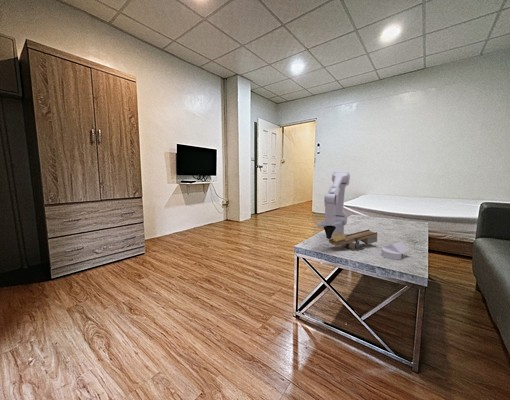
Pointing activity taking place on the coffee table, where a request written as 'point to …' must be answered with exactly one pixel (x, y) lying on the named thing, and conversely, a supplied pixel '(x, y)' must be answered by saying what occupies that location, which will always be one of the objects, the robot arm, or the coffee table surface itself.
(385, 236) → the coffee table surface
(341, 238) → the rider
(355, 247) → the grey metal bracket
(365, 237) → the beam
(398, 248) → the wedge on round base
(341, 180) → the robot arm
